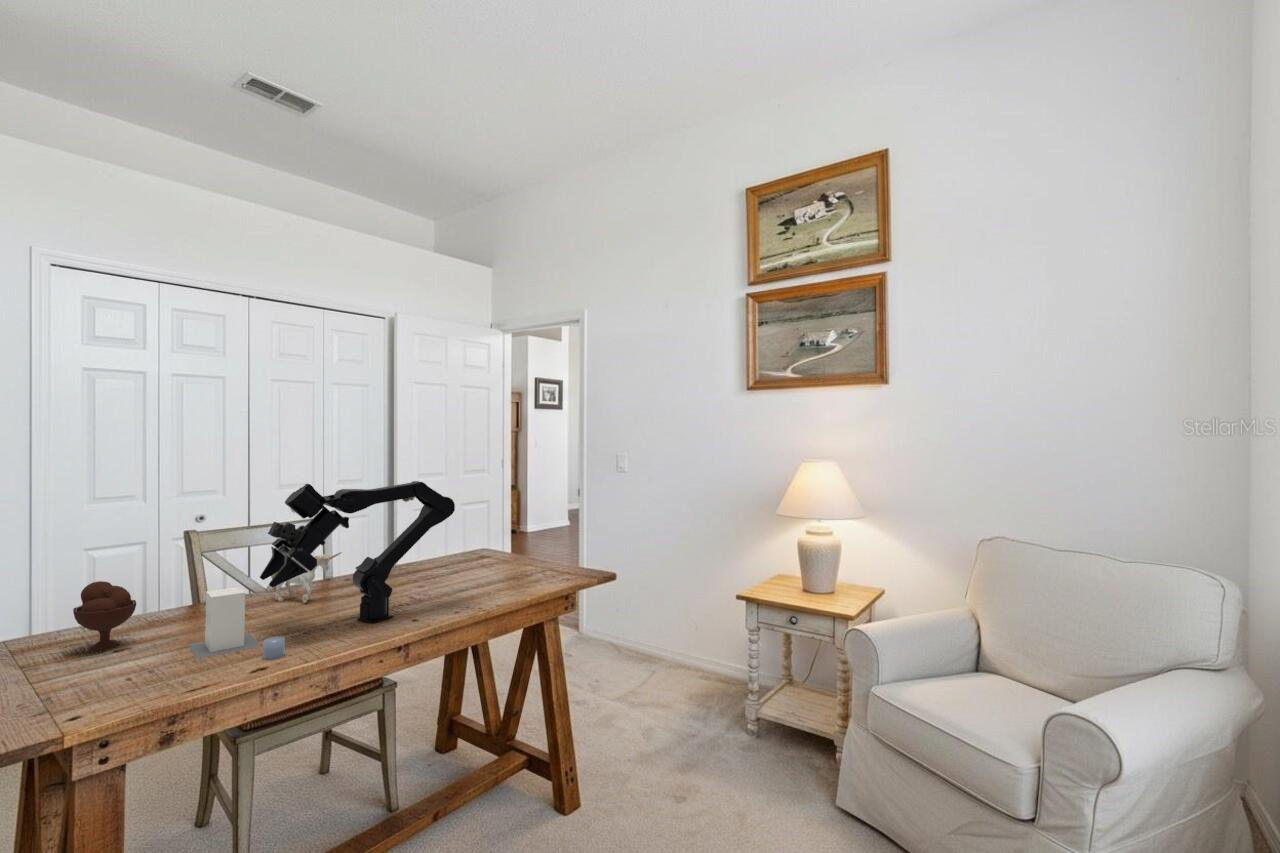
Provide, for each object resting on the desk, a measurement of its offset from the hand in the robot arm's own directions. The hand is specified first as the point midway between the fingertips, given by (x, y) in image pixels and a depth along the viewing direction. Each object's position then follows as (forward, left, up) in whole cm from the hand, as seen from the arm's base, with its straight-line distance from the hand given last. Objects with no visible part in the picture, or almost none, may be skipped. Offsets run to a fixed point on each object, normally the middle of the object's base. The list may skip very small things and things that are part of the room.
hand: (265, 582), depth 146 cm
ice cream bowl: (+20, -25, -14) cm, 35 cm away
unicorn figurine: (-28, -24, -14) cm, 39 cm away
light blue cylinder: (+6, +13, -13) cm, 20 cm away
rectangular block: (+7, -3, -13) cm, 15 cm away
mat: (+7, -3, -13) cm, 16 cm away
